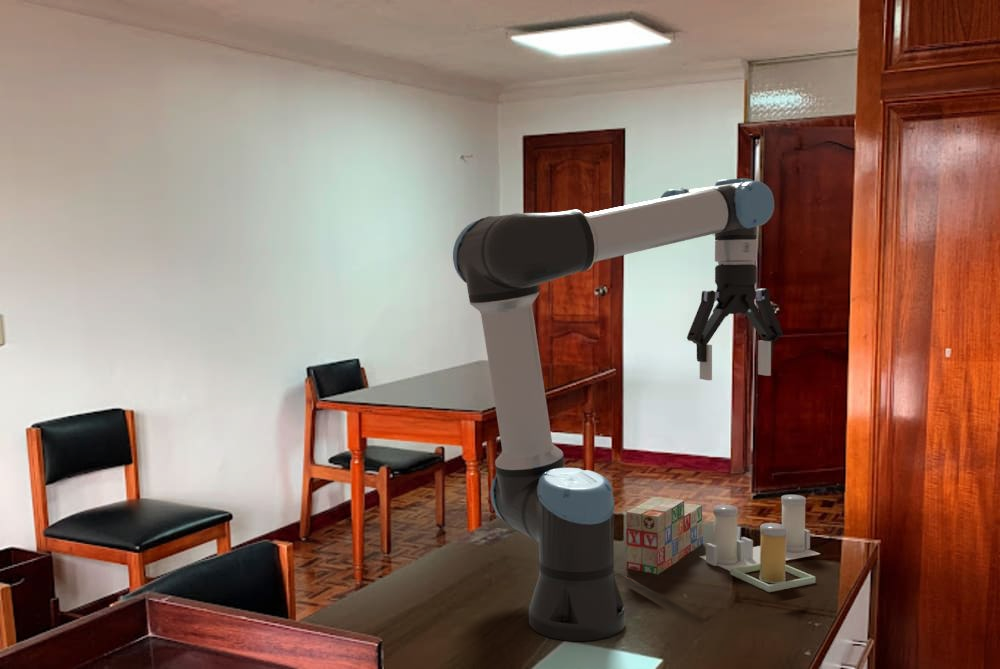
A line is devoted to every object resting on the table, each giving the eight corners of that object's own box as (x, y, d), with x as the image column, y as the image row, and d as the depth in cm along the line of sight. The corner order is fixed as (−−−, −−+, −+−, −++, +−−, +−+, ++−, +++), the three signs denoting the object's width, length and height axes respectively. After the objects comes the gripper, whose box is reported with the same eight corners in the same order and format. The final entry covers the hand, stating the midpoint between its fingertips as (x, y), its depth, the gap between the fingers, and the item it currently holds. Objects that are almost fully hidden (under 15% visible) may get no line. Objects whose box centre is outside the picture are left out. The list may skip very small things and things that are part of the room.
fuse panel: (725, 579, 163) (725, 552, 162) (694, 565, 171) (694, 538, 170) (822, 561, 172) (822, 535, 171) (789, 548, 180) (789, 523, 180)
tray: (768, 600, 152) (768, 586, 152) (730, 582, 161) (730, 568, 161) (815, 591, 156) (815, 576, 156) (775, 573, 165) (775, 560, 165)
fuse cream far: (792, 554, 172) (792, 501, 171) (776, 547, 176) (776, 496, 175) (810, 550, 173) (810, 498, 173) (794, 544, 177) (794, 493, 177)
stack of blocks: (673, 546, 183) (673, 485, 182) (703, 551, 179) (703, 489, 178) (626, 577, 165) (625, 510, 164) (658, 583, 162) (658, 515, 161)
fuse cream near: (723, 566, 165) (723, 512, 164) (707, 559, 169) (708, 506, 168) (742, 563, 167) (743, 509, 166) (726, 556, 171) (727, 503, 170)
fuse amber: (753, 581, 160) (754, 525, 159) (773, 576, 162) (774, 521, 161) (771, 589, 156) (772, 532, 155) (791, 585, 158) (792, 528, 157)
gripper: (692, 264, 161) (692, 383, 163) (802, 262, 172) (801, 375, 173) (667, 264, 168) (668, 379, 170) (775, 262, 178) (774, 371, 180)
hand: (735, 377), depth 171 cm, fingers open, 13 cm apart
